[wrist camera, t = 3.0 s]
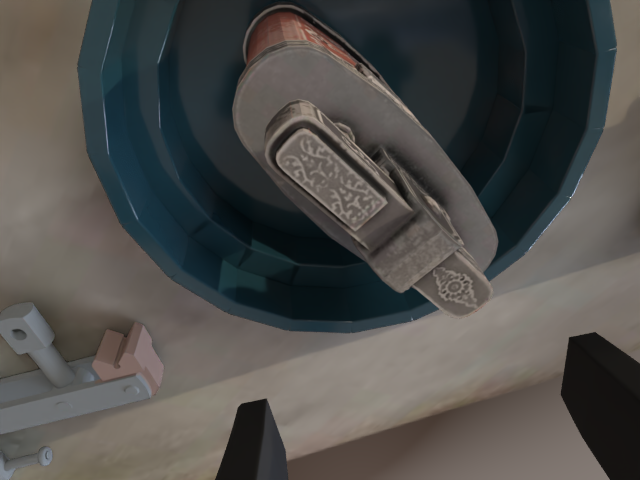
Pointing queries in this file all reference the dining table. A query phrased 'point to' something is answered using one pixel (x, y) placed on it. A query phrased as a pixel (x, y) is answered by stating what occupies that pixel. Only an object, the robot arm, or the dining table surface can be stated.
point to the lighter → (360, 160)
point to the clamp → (69, 378)
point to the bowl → (262, 192)
